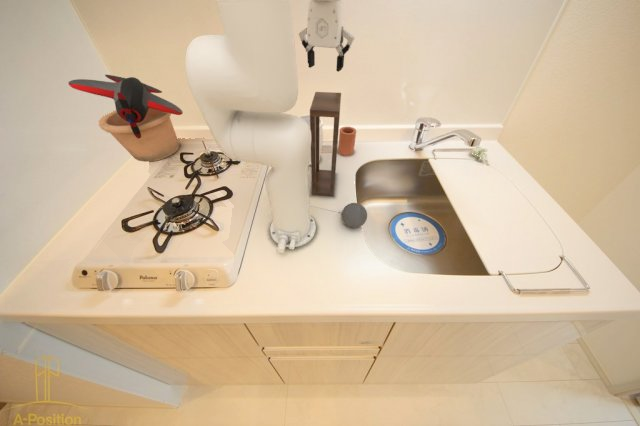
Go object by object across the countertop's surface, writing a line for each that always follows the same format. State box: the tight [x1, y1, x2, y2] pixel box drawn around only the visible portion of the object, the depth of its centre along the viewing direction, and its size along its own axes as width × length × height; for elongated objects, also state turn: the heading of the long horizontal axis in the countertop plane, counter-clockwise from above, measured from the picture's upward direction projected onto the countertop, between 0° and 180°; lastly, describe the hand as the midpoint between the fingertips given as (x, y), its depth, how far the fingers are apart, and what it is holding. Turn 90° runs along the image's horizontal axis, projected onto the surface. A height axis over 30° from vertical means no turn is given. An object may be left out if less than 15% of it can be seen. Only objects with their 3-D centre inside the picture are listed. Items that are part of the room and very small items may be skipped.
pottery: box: [98, 108, 181, 163], centre depth 82 cm, size 22×22×14 cm
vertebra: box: [470, 145, 489, 162], centre depth 83 cm, size 6×7×4 cm
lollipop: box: [311, 202, 368, 229], centre depth 62 cm, size 10×20×7 cm, turn 85°
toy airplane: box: [68, 74, 184, 139], centre depth 70 cm, size 28×24×15 cm
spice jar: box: [337, 126, 357, 157], centre depth 85 cm, size 6×6×9 cm
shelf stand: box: [309, 91, 342, 197], centre depth 64 cm, size 12×7×27 cm, turn 174°
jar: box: [298, 114, 324, 166], centre depth 79 cm, size 11×10×15 cm
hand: (325, 68), depth 69 cm, fingers open, 9 cm apart
